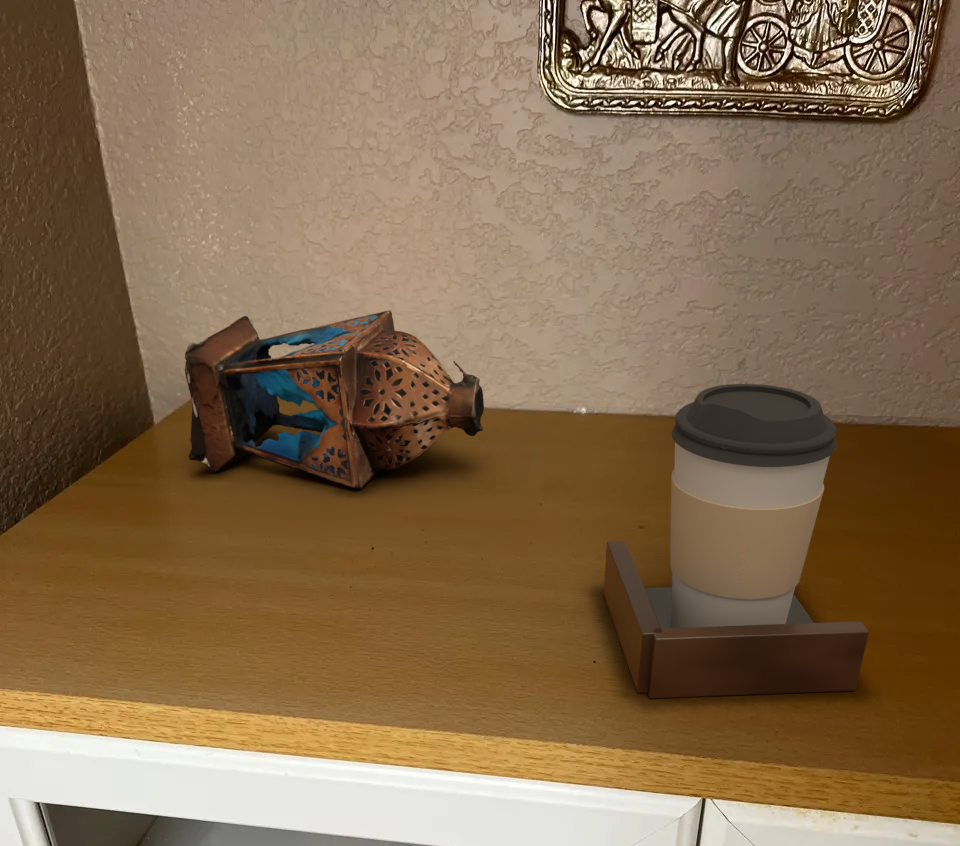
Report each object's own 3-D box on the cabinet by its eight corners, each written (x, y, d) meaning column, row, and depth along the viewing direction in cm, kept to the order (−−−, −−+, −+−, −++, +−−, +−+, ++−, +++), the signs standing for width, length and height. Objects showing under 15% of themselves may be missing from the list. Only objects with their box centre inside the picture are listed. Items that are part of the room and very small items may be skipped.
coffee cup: (707, 580, 67) (734, 361, 59) (827, 627, 62) (875, 393, 54) (624, 628, 62) (642, 394, 54) (749, 684, 56) (789, 433, 49)
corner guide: (785, 588, 67) (794, 535, 65) (856, 691, 56) (869, 631, 54) (603, 594, 67) (606, 540, 65) (639, 699, 56) (644, 639, 54)
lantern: (233, 520, 93) (488, 532, 87) (143, 431, 78) (444, 439, 72) (269, 372, 98) (514, 374, 92) (191, 261, 83) (477, 255, 77)
